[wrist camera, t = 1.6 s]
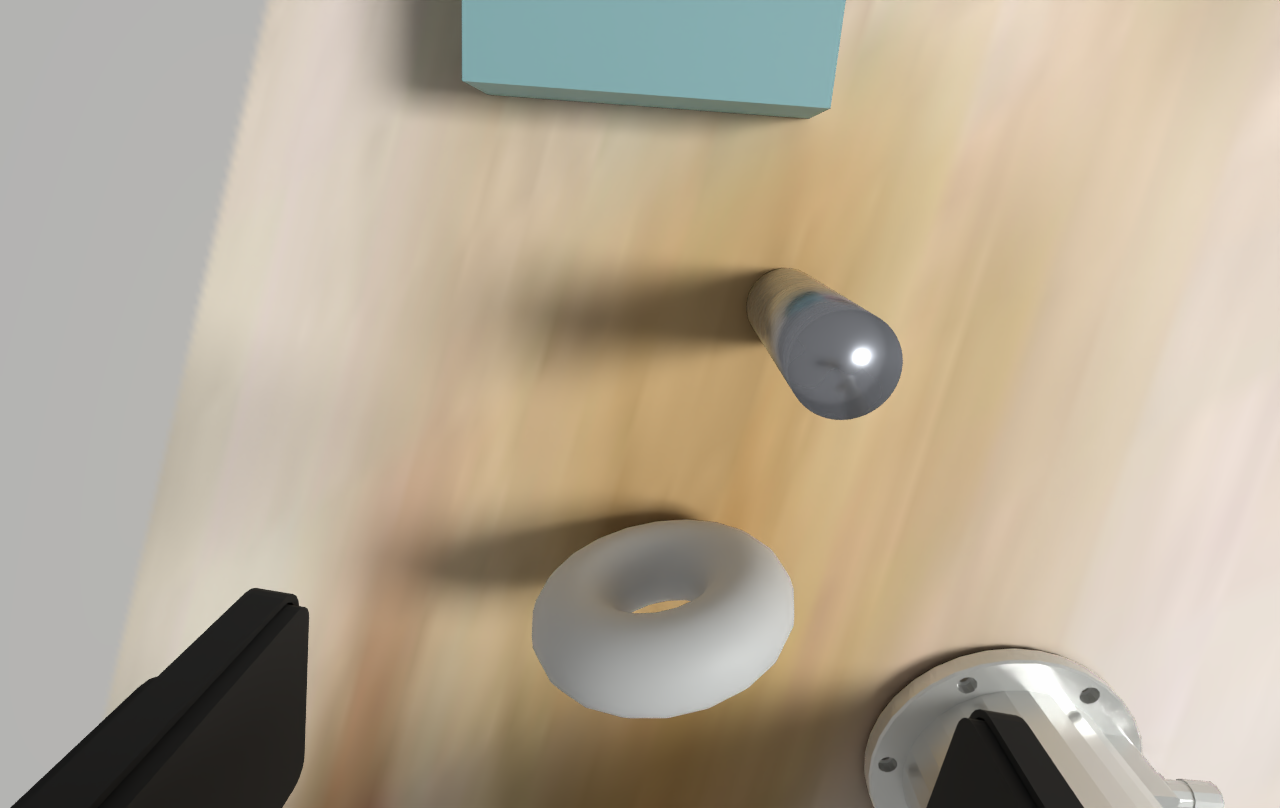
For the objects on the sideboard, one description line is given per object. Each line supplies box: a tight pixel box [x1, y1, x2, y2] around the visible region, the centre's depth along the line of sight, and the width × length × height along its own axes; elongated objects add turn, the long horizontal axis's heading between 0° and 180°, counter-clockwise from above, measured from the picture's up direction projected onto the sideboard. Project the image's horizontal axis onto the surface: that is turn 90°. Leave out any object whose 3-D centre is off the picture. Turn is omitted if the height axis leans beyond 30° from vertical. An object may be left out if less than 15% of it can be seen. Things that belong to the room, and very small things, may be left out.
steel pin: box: [746, 268, 903, 420], centre depth 23 cm, size 3×3×10 cm
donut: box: [532, 519, 794, 718], centre depth 27 cm, size 10×4×10 cm, turn 100°
